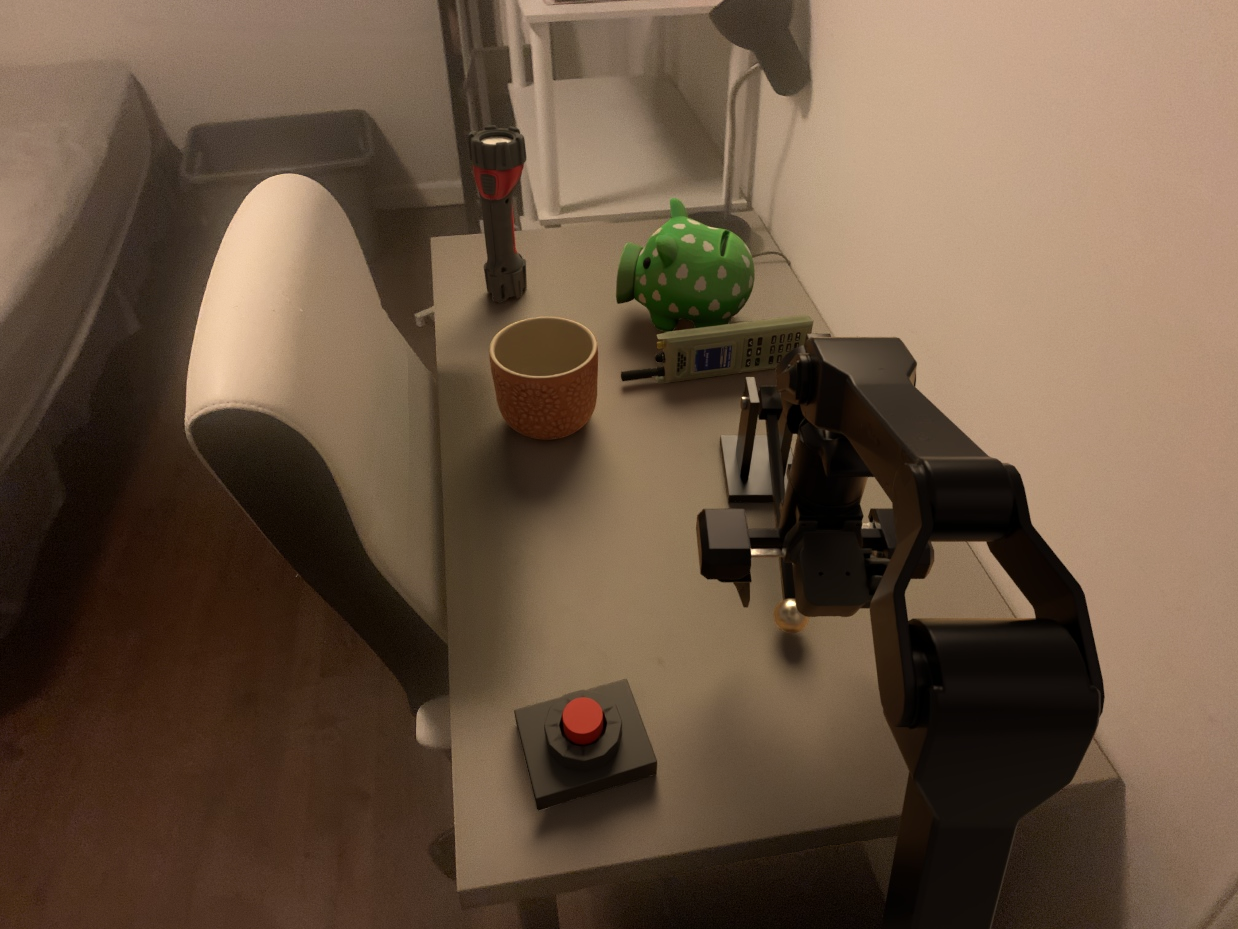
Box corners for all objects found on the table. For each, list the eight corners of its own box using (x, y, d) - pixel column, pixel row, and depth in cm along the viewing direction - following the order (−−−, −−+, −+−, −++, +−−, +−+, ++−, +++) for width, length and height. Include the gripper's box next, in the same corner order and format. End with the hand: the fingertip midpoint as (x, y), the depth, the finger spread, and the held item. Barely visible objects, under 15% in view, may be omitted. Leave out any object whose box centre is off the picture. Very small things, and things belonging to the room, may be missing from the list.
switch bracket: (800, 502, 88) (819, 420, 80) (727, 502, 88) (738, 420, 80) (786, 442, 95) (802, 361, 87) (719, 442, 95) (728, 361, 87)
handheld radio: (808, 368, 106) (624, 392, 102) (799, 354, 108) (618, 378, 105) (816, 324, 102) (623, 348, 98) (806, 311, 104) (618, 334, 100)
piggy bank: (632, 286, 121) (633, 190, 111) (752, 299, 118) (765, 202, 108) (612, 339, 111) (611, 239, 101) (743, 354, 108) (756, 253, 98)
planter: (606, 447, 95) (605, 372, 87) (500, 458, 93) (490, 383, 86) (592, 384, 103) (590, 311, 96) (496, 393, 102) (486, 320, 95)
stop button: (596, 703, 66) (596, 692, 65) (608, 738, 64) (607, 727, 63) (559, 714, 65) (558, 703, 64) (569, 749, 63) (568, 739, 62)
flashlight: (527, 270, 125) (513, 119, 109) (543, 294, 120) (532, 139, 104) (478, 280, 123) (458, 127, 107) (493, 305, 117) (474, 148, 102)
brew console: (626, 691, 71) (626, 666, 68) (656, 774, 65) (658, 751, 63) (515, 723, 69) (511, 698, 66) (537, 811, 63) (533, 788, 61)
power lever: (806, 637, 75) (814, 628, 72) (772, 637, 75) (778, 628, 72) (780, 399, 87) (786, 383, 84) (751, 399, 87) (755, 383, 84)
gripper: (714, 561, 56) (699, 682, 66) (983, 560, 56) (924, 682, 66) (702, 452, 64) (690, 576, 74) (936, 452, 64) (891, 576, 74)
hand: (796, 603), depth 72 cm, fingers open, 9 cm apart
